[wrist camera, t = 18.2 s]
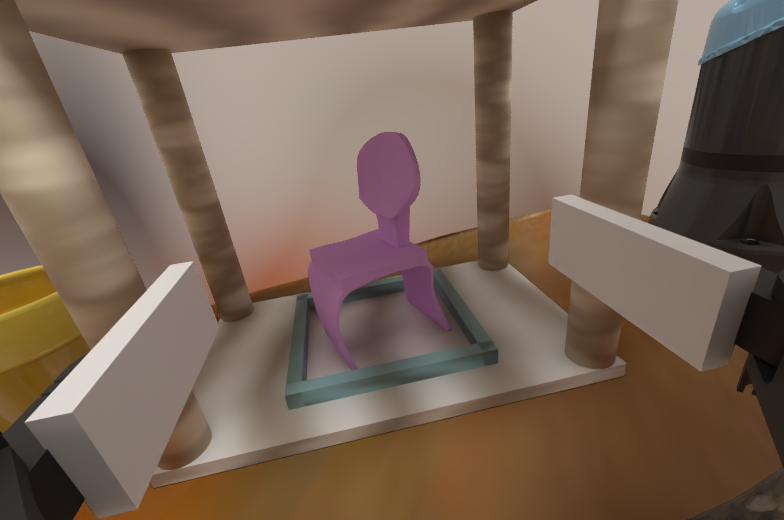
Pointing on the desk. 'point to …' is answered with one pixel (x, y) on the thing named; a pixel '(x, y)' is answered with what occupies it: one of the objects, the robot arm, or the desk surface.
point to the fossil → (753, 502)
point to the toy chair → (377, 240)
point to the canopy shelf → (298, 312)
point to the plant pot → (32, 340)
